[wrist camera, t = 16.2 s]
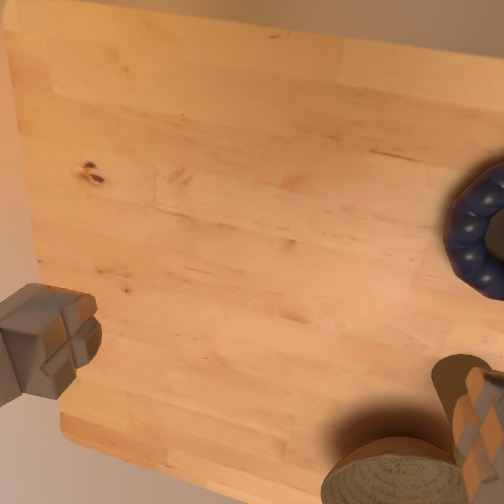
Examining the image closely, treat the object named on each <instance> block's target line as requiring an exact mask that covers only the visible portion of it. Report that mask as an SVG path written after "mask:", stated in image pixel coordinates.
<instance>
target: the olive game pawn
mask: <svg viewBox="0 0 504 504" xmlns="http://www.w3.org/2000/svg"><path fill="white" fill-rule="evenodd" d="M473 367H478V368H484V369H489V370H492V369H491V367H490V366H489V365H488V364H487V363H486V362H485V361H483V360H482V359H480V358H477V357H474V356H471V355H454V356H449V357H447V358H444V359H442V360H441V361H439V362H438V363H437V364H436V365H435V366H434V368H433V370H432V376H431V378H432V380H433V383H434V386H435V388H436V391H437V393H438V395H439V398H440V400H441V403H442V405H443V408H444V410H445V413H446V415H447V417H448V420H449V422H450V425H451V427H452V430H453V426H452V424H453V414H454V409H455V406H456V403H457V400H458V398H460V397H461V396H463V395H465V394H467V393H468V390H467V386H466V383H465V381H466V378H467V376H468V373H469V372H470V370H471V369H472V368H473ZM452 451H453V456H454V458H455V461H456V463H457V465H458V466H459V467H460V469H461V470H462V467H463V465H464V463H465V461H466V459H465V458H464V456H463V455H462V454H461V453H460V452H459V451H458V450H457V449H456V446H455V441H454V437H453V442H452Z"/></svg>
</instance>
